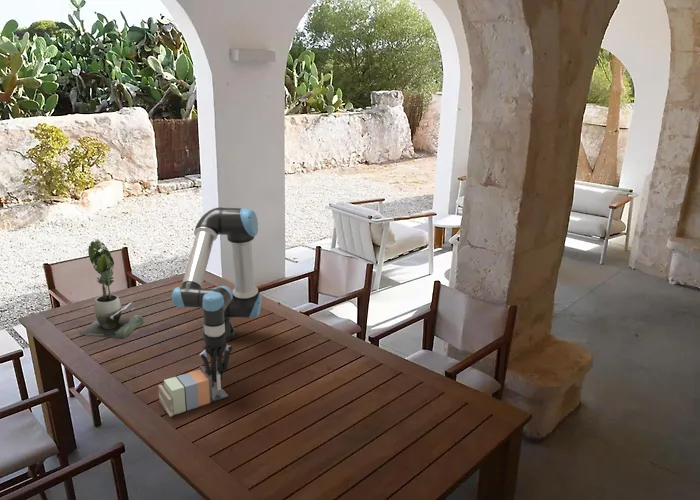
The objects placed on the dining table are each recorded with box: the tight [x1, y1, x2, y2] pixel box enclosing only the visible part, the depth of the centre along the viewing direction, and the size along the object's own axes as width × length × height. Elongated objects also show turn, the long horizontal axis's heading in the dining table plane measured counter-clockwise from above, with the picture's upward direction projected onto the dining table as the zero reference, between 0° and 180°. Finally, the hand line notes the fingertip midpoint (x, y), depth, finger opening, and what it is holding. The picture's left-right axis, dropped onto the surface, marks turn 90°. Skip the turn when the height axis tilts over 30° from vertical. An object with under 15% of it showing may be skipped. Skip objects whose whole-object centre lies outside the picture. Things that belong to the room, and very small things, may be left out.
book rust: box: [188, 369, 211, 407], centre depth 217 cm, size 4×9×10 cm, turn 36°
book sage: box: [163, 376, 187, 416], centre depth 212 cm, size 4×9×10 cm, turn 36°
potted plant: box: [79, 238, 144, 340], centre depth 269 cm, size 22×19×45 cm
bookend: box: [199, 365, 230, 403], centre depth 220 cm, size 8×9×11 cm
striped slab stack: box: [157, 384, 174, 417], centre depth 216 cm, size 18×12×7 cm, turn 126°
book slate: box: [176, 372, 200, 411], centre depth 215 cm, size 4×9×10 cm, turn 36°
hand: (217, 388), depth 222 cm, fingers closed
